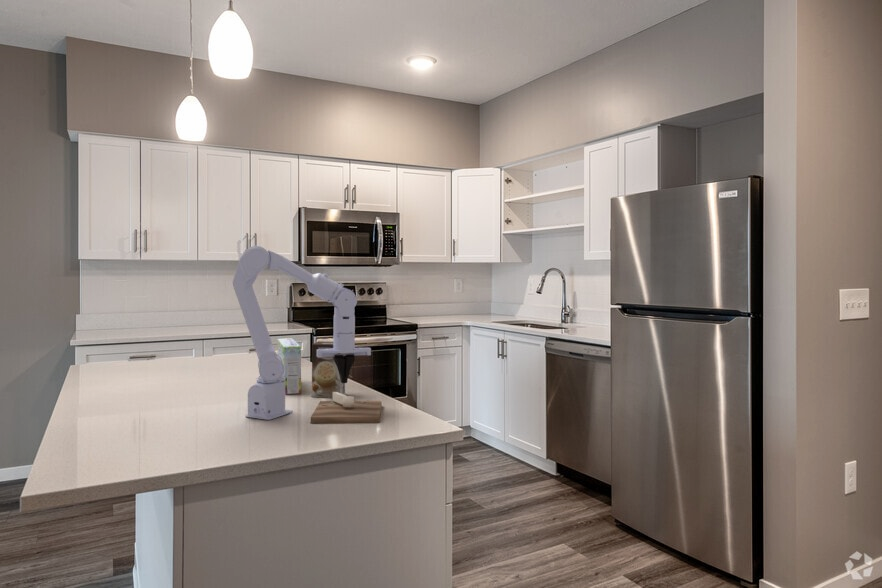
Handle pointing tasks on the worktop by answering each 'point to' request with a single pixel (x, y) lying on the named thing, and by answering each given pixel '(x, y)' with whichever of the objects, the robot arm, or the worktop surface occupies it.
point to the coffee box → (325, 373)
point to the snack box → (291, 364)
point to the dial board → (347, 412)
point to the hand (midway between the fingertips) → (343, 382)
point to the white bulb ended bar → (343, 399)
